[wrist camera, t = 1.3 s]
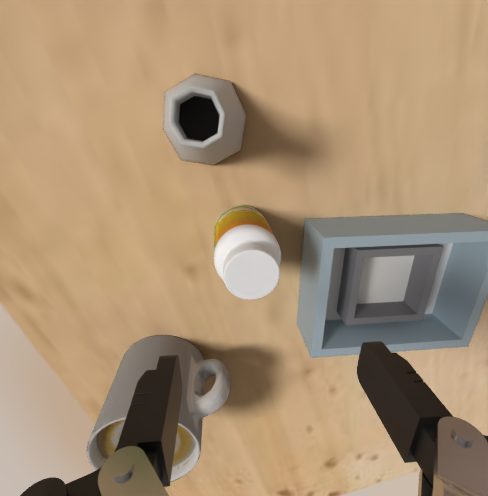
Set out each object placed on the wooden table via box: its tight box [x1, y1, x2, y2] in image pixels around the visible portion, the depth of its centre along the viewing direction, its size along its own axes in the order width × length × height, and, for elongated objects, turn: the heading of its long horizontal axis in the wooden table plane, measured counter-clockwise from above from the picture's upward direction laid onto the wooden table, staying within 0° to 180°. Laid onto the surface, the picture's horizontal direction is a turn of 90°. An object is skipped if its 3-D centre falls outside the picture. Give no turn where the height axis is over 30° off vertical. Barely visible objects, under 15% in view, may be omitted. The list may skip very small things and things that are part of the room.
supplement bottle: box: [214, 205, 281, 300], centre depth 24 cm, size 5×5×10 cm
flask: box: [163, 74, 246, 165], centre depth 20 cm, size 7×7×10 cm
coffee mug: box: [87, 335, 230, 482], centre depth 30 cm, size 13×10×10 cm
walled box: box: [297, 213, 488, 358], centre depth 29 cm, size 13×17×6 cm
